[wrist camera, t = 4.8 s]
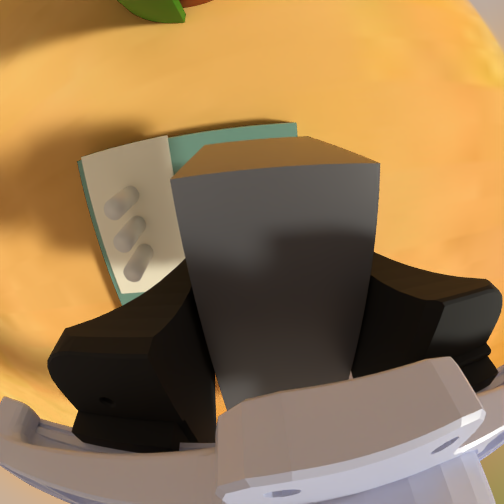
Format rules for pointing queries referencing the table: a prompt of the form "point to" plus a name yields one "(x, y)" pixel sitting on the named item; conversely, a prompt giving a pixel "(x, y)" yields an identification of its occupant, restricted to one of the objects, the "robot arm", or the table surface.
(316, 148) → the block
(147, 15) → the green and brown cylinder
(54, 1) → the table surface
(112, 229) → the header board
